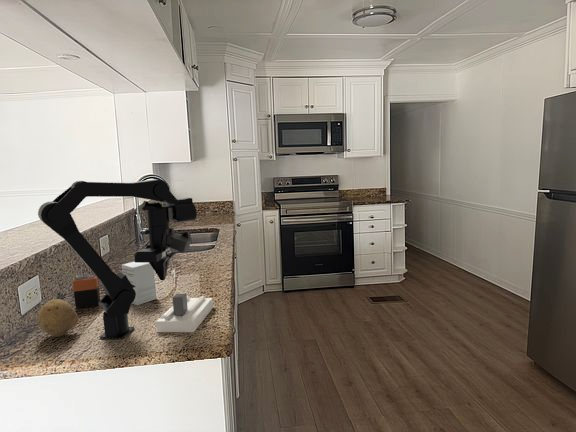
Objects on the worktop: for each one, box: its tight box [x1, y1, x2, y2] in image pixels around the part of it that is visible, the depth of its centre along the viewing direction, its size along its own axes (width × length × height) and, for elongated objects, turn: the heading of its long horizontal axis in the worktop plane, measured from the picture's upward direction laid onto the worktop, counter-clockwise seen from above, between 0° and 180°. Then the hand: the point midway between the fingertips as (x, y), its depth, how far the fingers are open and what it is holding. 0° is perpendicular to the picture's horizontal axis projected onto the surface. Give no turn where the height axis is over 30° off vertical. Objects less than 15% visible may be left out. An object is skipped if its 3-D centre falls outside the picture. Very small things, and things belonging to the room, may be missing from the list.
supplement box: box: [121, 261, 158, 306], centre depth 133 cm, size 7×7×13 cm
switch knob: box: [172, 293, 188, 315], centre depth 111 cm, size 3×3×5 cm
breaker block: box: [155, 295, 214, 333], centre depth 115 cm, size 18×10×4 cm, turn 174°
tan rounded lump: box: [36, 298, 79, 338], centre depth 107 cm, size 9×9×10 cm
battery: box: [72, 273, 101, 309], centre depth 131 cm, size 4×7×10 cm, turn 107°
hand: (162, 280), depth 114 cm, fingers closed
